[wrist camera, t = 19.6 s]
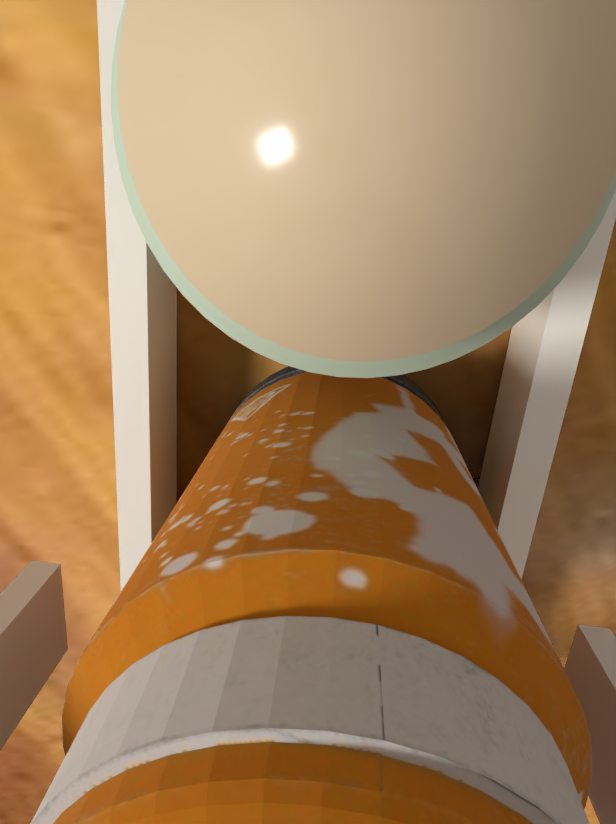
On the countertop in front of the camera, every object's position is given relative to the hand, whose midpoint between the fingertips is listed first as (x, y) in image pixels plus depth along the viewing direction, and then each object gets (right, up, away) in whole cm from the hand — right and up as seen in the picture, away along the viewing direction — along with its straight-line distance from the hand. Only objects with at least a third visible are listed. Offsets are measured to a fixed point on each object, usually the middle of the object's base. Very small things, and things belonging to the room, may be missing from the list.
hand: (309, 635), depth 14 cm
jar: (+2, +13, +4) cm, 14 cm away
